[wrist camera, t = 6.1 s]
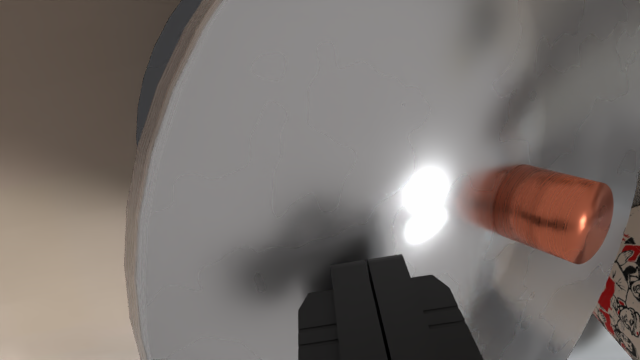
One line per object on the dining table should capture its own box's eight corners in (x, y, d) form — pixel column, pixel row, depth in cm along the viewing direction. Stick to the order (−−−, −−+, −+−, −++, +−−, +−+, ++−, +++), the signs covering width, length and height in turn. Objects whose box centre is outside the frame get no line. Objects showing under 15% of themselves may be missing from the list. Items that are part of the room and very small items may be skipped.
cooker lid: (628, -157, 15) (767, -193, 12) (595, 316, 21) (683, 355, 19) (-37, -129, 7) (-24, -219, 4) (234, 620, 13) (303, 762, 11)
